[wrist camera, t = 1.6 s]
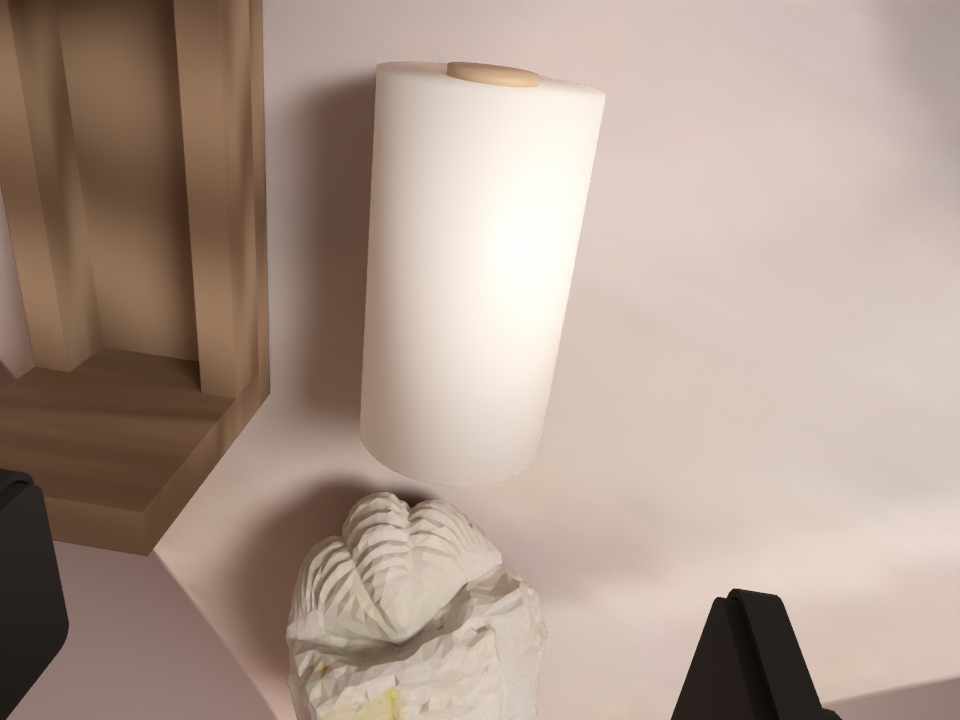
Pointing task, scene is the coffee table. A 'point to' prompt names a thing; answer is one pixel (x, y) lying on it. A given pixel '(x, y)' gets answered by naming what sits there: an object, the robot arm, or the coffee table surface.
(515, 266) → the roll
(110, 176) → the holder
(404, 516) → the fossil replica
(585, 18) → the coffee table surface
